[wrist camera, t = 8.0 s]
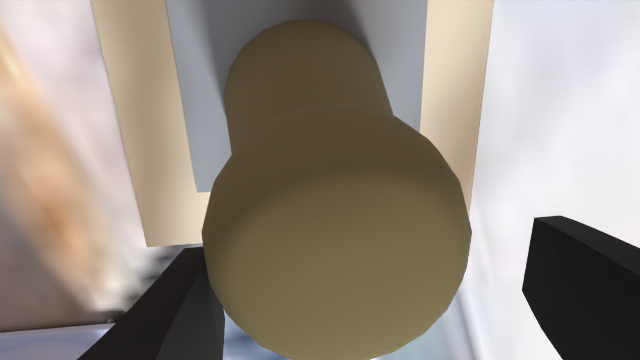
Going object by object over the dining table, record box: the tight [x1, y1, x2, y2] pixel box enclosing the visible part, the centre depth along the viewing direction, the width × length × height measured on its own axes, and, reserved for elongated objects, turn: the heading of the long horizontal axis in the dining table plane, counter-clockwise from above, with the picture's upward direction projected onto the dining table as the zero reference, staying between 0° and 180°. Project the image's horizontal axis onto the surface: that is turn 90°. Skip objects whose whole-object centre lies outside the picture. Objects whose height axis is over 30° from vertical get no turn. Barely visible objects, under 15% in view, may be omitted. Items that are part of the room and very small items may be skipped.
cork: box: [201, 19, 472, 360], centre depth 13 cm, size 6×6×11 cm
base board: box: [91, 0, 494, 247], centre depth 18 cm, size 14×14×2 cm
